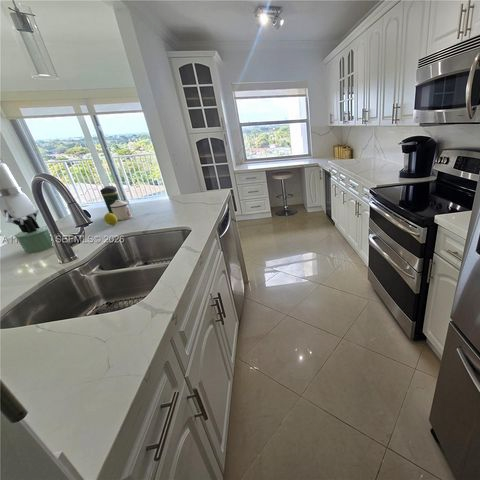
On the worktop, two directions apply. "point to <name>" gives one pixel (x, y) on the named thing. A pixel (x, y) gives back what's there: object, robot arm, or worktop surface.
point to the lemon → (110, 219)
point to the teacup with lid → (121, 210)
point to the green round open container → (36, 242)
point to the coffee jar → (110, 196)
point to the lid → (32, 229)
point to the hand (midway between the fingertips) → (31, 229)
